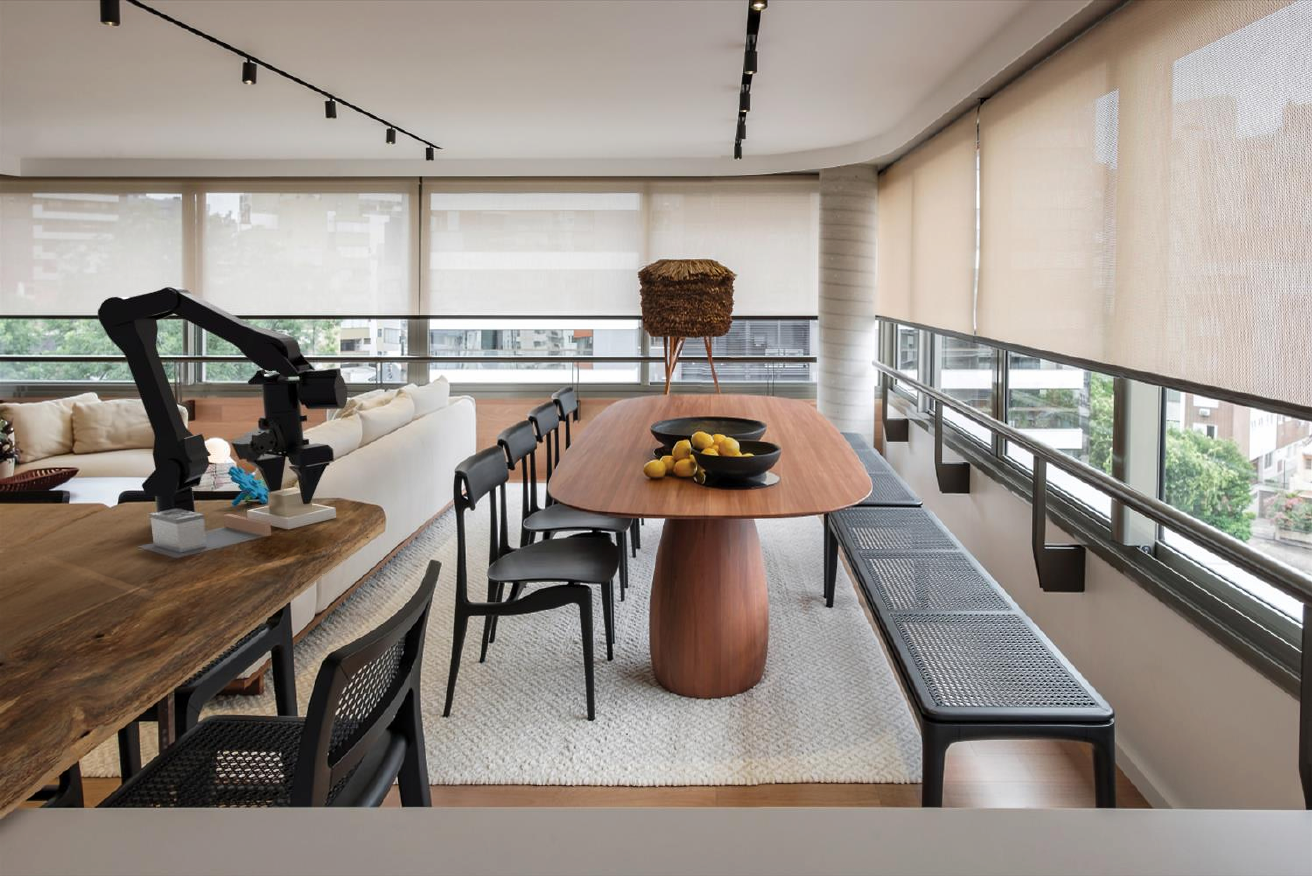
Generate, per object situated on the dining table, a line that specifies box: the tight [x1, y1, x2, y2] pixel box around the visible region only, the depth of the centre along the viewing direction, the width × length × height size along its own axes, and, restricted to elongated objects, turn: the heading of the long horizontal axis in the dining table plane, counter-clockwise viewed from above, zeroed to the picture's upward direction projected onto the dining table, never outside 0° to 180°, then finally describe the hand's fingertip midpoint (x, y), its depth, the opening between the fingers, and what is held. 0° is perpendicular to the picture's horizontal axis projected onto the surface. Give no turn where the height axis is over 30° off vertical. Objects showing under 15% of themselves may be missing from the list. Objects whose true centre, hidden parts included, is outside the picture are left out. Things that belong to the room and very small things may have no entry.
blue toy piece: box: [227, 465, 269, 507], centre depth 168 cm, size 11×6×10 cm
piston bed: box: [137, 513, 272, 559], centre depth 139 cm, size 12×15×3 cm
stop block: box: [267, 486, 313, 518], centre depth 152 cm, size 5×5×5 cm
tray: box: [246, 503, 337, 530], centre depth 152 cm, size 12×9×2 cm
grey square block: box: [149, 508, 207, 553], centre depth 136 cm, size 8×4×5 cm, turn 54°
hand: (290, 501), depth 152 cm, fingers open, 9 cm apart
